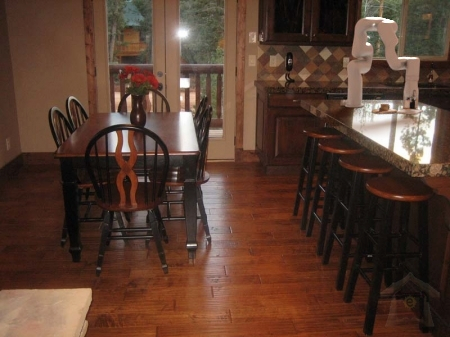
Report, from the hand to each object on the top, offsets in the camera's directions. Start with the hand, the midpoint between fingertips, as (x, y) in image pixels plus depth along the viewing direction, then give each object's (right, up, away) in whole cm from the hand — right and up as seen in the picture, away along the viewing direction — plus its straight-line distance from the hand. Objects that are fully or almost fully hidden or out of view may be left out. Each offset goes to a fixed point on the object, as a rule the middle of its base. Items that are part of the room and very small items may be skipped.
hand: (410, 107), depth 287 cm
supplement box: (+6, +1, +16) cm, 17 cm away
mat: (0, -3, +1) cm, 3 cm away
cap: (0, 0, 0) cm, 0 cm away
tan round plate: (-14, -2, +7) cm, 15 cm away
